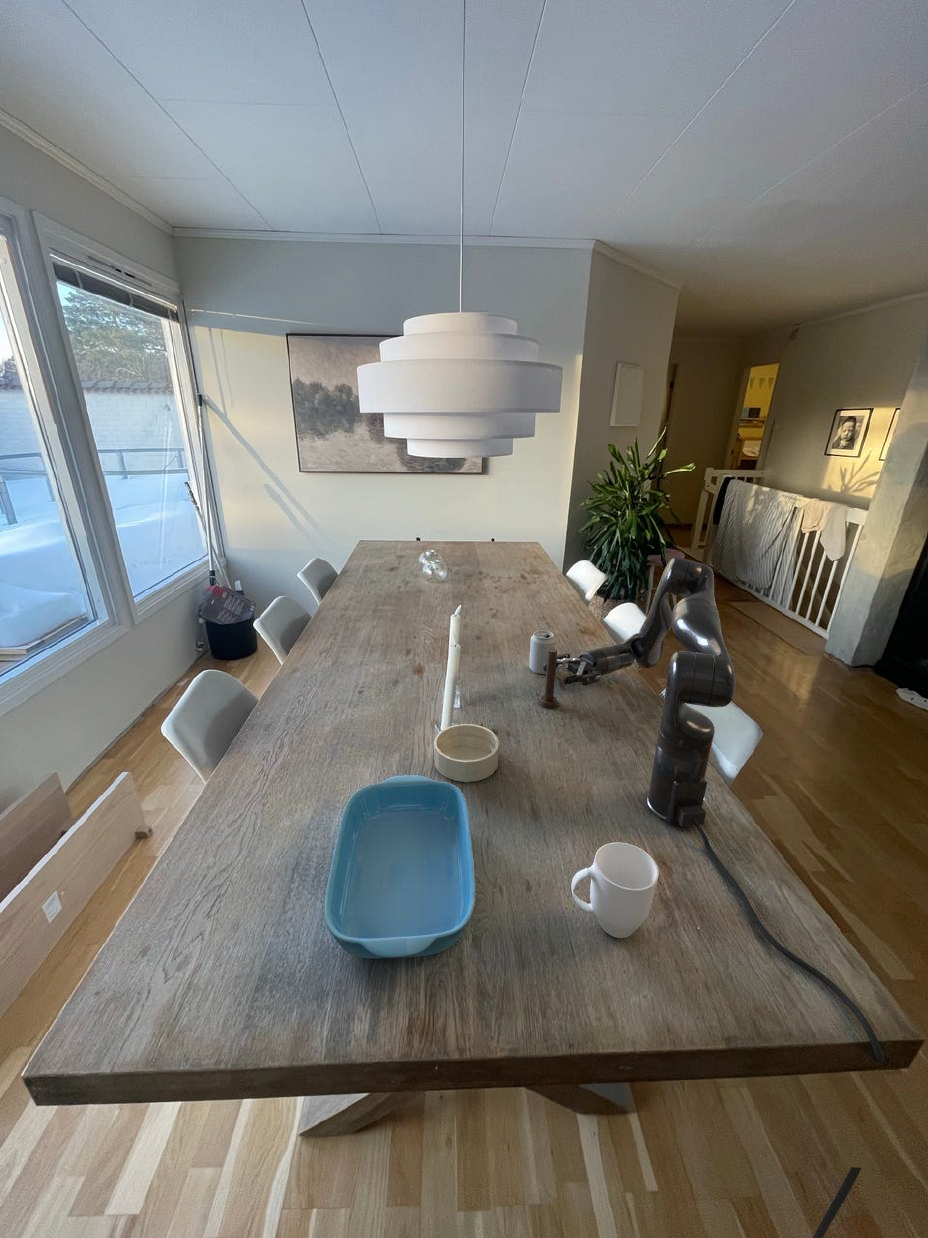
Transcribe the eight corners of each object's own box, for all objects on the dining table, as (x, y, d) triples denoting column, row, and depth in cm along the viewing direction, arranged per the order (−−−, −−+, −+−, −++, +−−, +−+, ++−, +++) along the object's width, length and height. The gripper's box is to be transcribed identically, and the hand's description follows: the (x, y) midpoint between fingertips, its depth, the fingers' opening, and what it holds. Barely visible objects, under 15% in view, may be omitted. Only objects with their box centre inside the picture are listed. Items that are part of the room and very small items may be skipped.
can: (553, 676, 154) (555, 639, 149) (527, 674, 155) (530, 637, 151) (554, 665, 160) (556, 630, 156) (529, 663, 162) (532, 628, 157)
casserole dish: (351, 804, 102) (349, 774, 99) (463, 799, 104) (464, 769, 101) (315, 998, 68) (309, 960, 65) (483, 986, 69) (484, 949, 67)
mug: (638, 900, 82) (648, 841, 78) (655, 953, 74) (667, 891, 69) (564, 897, 82) (570, 839, 78) (573, 950, 74) (580, 888, 70)
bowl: (504, 780, 109) (505, 758, 107) (438, 786, 107) (437, 764, 105) (491, 741, 122) (491, 721, 120) (431, 746, 120) (431, 726, 118)
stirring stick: (558, 707, 137) (563, 653, 131) (543, 708, 136) (547, 654, 131) (553, 699, 141) (558, 646, 135) (538, 700, 140) (541, 647, 135)
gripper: (584, 640, 148) (538, 651, 140) (620, 659, 136) (572, 672, 129) (582, 664, 150) (537, 676, 143) (617, 684, 139) (570, 698, 131)
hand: (553, 674), depth 136 cm, fingers open, 8 cm apart
